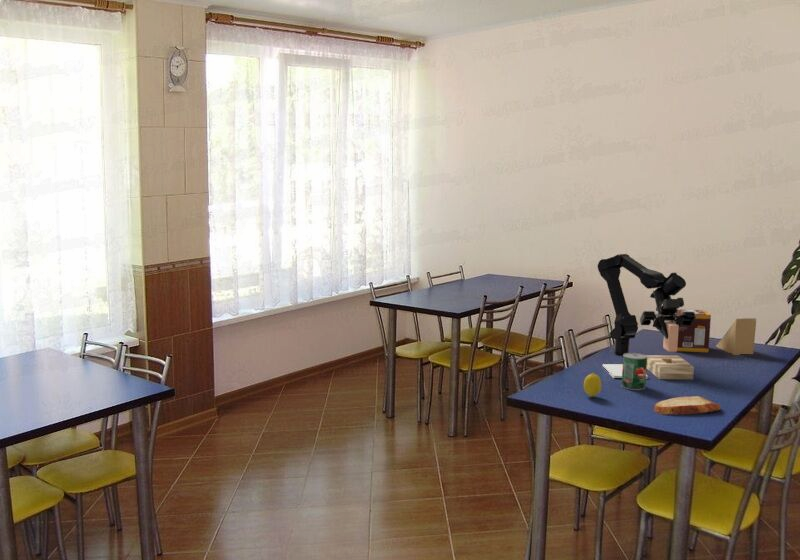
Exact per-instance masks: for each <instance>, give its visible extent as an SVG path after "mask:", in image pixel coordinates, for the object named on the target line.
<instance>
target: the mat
mask: <svg viewBox="0 0 800 560" xmlns="http://www.w3.org/2000/svg"><path fill="white" fill-rule="evenodd" d="M602 366H603V367H604V368H605V369H606V370H607V371H608V372H609V373H608V372H607V371H606V370H605V369H604V368H603V367H602ZM602 366H601V367H602V368H603V369H604V370H605V371H606V372H607V373H608V375H610V377H612V378H613V379H614V378H622V369H623V363H619V364H617V363H613V364H612V363H607V364H605V363H602ZM648 378H649V375H647V374H646V380H648Z"/></svg>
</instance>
